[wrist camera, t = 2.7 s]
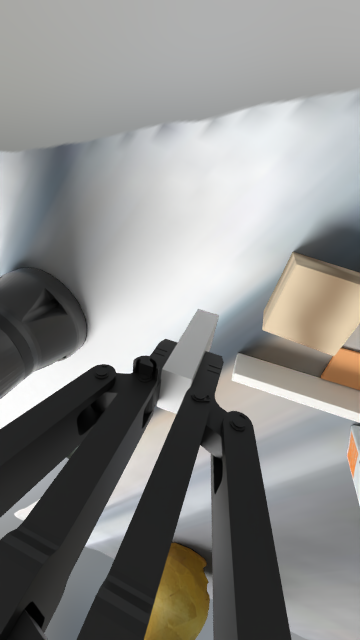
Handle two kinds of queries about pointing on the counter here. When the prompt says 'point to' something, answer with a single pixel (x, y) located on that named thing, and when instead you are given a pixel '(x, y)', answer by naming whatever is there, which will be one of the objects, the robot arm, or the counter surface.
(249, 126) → the counter surface
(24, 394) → the counter surface
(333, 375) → the trap pits
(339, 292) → the oak block
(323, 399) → the track
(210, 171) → the counter surface
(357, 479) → the skincare box
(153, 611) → the pitcher
